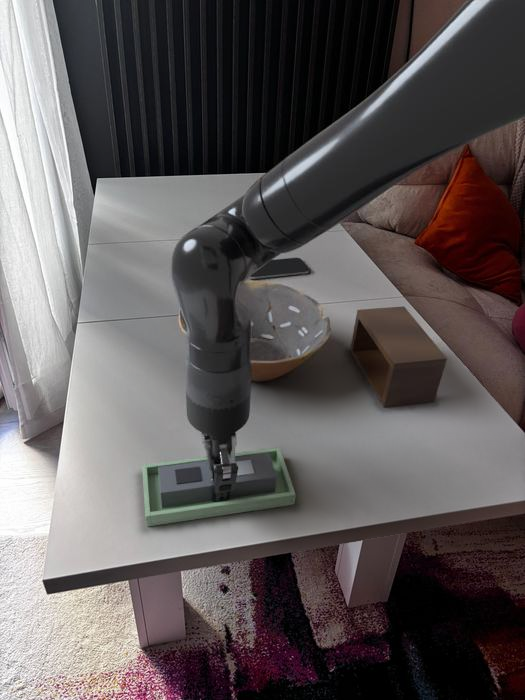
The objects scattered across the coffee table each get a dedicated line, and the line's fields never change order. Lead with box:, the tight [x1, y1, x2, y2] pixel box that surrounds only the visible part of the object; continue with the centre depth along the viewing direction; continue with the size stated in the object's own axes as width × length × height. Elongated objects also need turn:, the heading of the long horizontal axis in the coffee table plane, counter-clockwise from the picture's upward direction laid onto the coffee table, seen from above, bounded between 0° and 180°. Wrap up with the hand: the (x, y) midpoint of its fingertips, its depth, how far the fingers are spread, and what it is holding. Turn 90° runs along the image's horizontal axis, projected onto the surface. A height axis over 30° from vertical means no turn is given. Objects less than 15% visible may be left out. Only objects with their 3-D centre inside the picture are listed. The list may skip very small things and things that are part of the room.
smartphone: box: [248, 257, 311, 280], centre depth 127 cm, size 7×1×15 cm
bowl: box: [178, 280, 332, 382], centre depth 95 cm, size 25×25×10 cm
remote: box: [158, 453, 277, 508], centre depth 73 cm, size 15×4×3 cm, turn 103°
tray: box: [141, 447, 297, 527], centre depth 74 cm, size 19×9×2 cm, turn 103°
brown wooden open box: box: [349, 305, 448, 408], centre depth 94 cm, size 16×9×9 cm, turn 13°
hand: (217, 484), depth 74 cm, fingers closed on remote, 4 cm apart
